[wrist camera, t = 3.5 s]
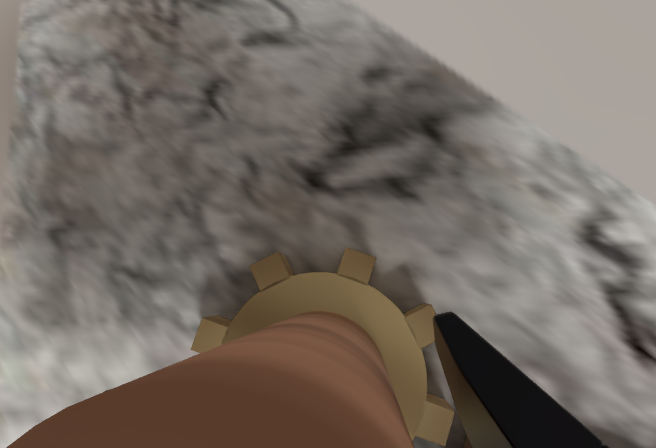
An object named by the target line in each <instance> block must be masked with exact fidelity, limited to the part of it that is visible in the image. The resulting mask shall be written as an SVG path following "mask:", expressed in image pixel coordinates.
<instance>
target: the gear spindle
mask: <svg viewBox="0 0 656 448" xmlns="http://www.w3.org/2000/svg"><path fill="white" fill-rule="evenodd" d="M375 261H376V257H373V256H371V255H368V254H365V253H362V252H359V251H356V250H353V249H350V248H347V247H346V248H345V251H344V254H343V257H342V260H341V263H340V266H339V268H338V271H337V274H336V273H328V272H310V273H303V274H297V275H294V273H293V271H292V269H291V267H290V265H289V263H288V261H287V258H286V256H285V255H283V254H281V253H279V252H276V253H274V254H272V255H270V256H268V257H266V258H264V259H262V260H260V261H258V262H256V263H254V264H252V265H250V266H249V267H250V269H251V272H252V274H253V276H254V278H255V280H256V283H257V285H258V287H259V289H260V292H258V293H257V294H256V295H254V296H253V297H252V298H251V299H250V300H249V301H248V302H247V303H246V304H245V305H244V306H243V307H242V308H241V309H240V310H239V312H238V313H237V314H236V316H235V317H234V318H233V320H232V321H231V320H228V319H225V318H223V317H220V316H211V317H205V318H202V320H201V323H200V326H199V328H198V331H197V334H196V336H195V339H194V342H193V344H192V347H191V350H193V351H196V352H199V353H201V354H198V355H196V356H193V357H191V358H188V359H186V360H183V361H181V362H178V363H176V364H173V365H171V366H168V367H166V368H163V369H161V370H158V371H156V372H153V373H151V374H148V375H146V376H143V377H141V378H138V379H136V380H133V381H131V382H128V383H126V384H123V385H121V386H118V387H116V388H113V389H111V390H108V391H106V392H103V393H101V394H98V395H96V396H93V397H91V398H89V399H86V400H84V401H81V402H79V403H77V404H74V405H72V406H69V407H67V408H65V409H63V410H62V411H60V412H58V413H57V414H55V415H53V416H51V417H50V418H48V419H46V420H44V421H43V422H41V423H39V424H38V425H36V426H34V427H33V428H32V429H30V430H29V431H28V432H26V433H25V434H24V435H22V436H21V437H20V438H18V439H17V440H16V441H15V442H13V443H12V444H11V445H9V446H8V447H7V448H414V445H413V443H412V442H413V440H414V438H415V436H418V437H421V438H423V439H426V440H429V441H431V442H434V443H436V444H439V445H442V446H444V447H445V445H446V442H447V438H448V435H449V432H450V428H451V425H452V421H453V418H454V414H455V411H454V410H453V409H452V407H451V406H450V405H449V404H448V402H447V401H446V400H445V399H442V398H439V397H437V396H434V395H431V394H429V393H427V373H426V366H425V360H424V356H423V353H422V350H421V348H423V347H425V346H427V345H429V344H431V343H433V342H435V339H434V328H433V316H434V315H436V313H435V311H434V309H433V307H432V305H431V304H426V303H423V304H421V305H419V306H417V307H415V308H413V309H411V310H409V311H407V312H405V313H403V314H402V312H401V311H400V310H399V308H398V307H397V306H396V305H395V304H394V303H393V302H392V301H391V300H390V299H388V298H387V297H386V296H385V295H383V294H382V293H381V292H379V291H378V290H377V289H375V288H373V287H372V286H370V285H368V282H369V279H370V276H371V273H372V270H373V267H374V264H375Z"/></svg>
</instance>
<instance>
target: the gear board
mask: <svg viewBox="0 0 656 448" xmlns="http://www.w3.org/2000/svg"><path fill="white" fill-rule="evenodd" d="M463 448H472V445H471V443H470V441H469V439H468V437H467V435H466V438H465V442H464V445H463Z"/></svg>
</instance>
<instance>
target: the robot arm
mask: <svg viewBox="0 0 656 448" xmlns="http://www.w3.org/2000/svg"><path fill="white" fill-rule="evenodd" d="M433 328H434V339H435V345H436V348H437V352H438V355H439V358H440V361H441V364H442V367H443V370H444V373H445V376H446V379H447V382H448V385H449V388H450V391H451V395H452V398H453V401H454V404H455V407H456V410H457V412H458V415H459V418H460V421H461V423H462V425H463V428H464V430H465V432H466V434H467V437H468V439H469V441H470V443H471V445H472V448H610V447H609V446H607V445H603V446H602V441H601V440H600V439H599V438H598V437H597V436H596V435H594V434H593V433H592V432H591V431H590V430H589V429H587V428H586V427H585V426H584V425H583V424H582V423H581V422H579V421H578V420H577V419H576V418H575V417H574V416H572V415H571V414H570V413H569V412H568V411H567V410H566V409H564V408H563V407H562V406H561V405H560V404H559V403H557V402H556V401H555V400H554V399H553V398H552V397H551V396H549V395H548V394H547V393H546V392H545V391H544V390H542V389H541V388H540V387H539V386H538V385H537V384H536V383H534V382H533V381H532V380H531V379H530V378H529V377H527V376H526V375H525V374H524V373H523V372H522V371H521V370H519V369H518V368H517V367H516V366H515V365H514V364H512V363H511V362H510V361H509V360H508V359H507V358H506V357H504V356H503V355H502V354H501V353H500V352H499V351H497V350H496V349H495V348H494V347H493V346H492V345H490V344H489V343H488V342H487V341H486V340H485V339H484V338H482V337H481V336H480V335H479V334H478V333H477V332H475V331H474V330H473V329H472V328H471V327H470V326H469V325H467V324H466V323H465V322H464V321H463V320H462V319H460V318H459V317H458V316H457V315H456V314H455V313H453V312H446V313H441V314H437V315H434V316H433ZM110 390H111V389H110ZM106 391H108V390H106ZM106 391H104V392H106Z"/></svg>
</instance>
